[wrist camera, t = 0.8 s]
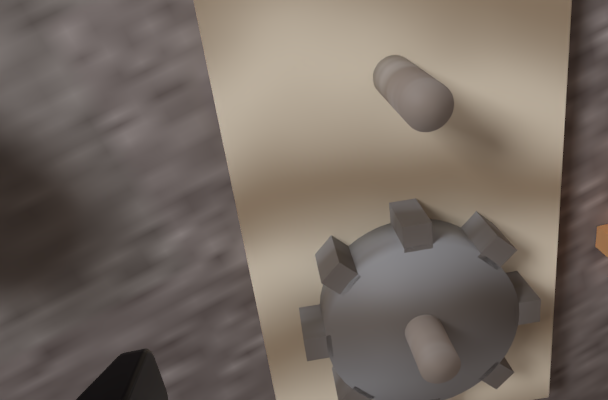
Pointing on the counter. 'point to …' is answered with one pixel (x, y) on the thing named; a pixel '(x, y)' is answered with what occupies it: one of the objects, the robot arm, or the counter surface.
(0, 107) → the counter surface
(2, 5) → the counter surface
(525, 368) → the gear board
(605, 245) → the orange gear
